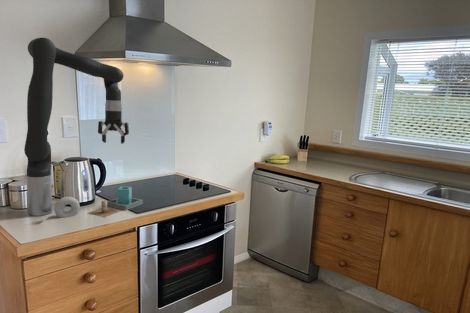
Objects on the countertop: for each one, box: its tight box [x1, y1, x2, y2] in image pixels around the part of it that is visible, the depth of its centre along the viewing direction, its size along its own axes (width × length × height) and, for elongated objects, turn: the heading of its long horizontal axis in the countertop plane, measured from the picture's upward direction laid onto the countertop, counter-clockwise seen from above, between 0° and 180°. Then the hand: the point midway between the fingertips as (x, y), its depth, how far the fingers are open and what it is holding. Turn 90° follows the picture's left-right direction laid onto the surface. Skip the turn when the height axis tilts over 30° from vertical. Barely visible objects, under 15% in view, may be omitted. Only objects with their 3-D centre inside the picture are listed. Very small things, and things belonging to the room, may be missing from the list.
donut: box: [53, 196, 81, 218], centre depth 150 cm, size 10×3×10 cm, turn 124°
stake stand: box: [88, 200, 121, 218], centre depth 157 cm, size 10×10×6 cm
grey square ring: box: [106, 197, 144, 211], centre depth 169 cm, size 12×12×4 cm
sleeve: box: [117, 186, 133, 205], centre depth 168 cm, size 5×5×9 cm
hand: (113, 142), depth 172 cm, fingers open, 8 cm apart
